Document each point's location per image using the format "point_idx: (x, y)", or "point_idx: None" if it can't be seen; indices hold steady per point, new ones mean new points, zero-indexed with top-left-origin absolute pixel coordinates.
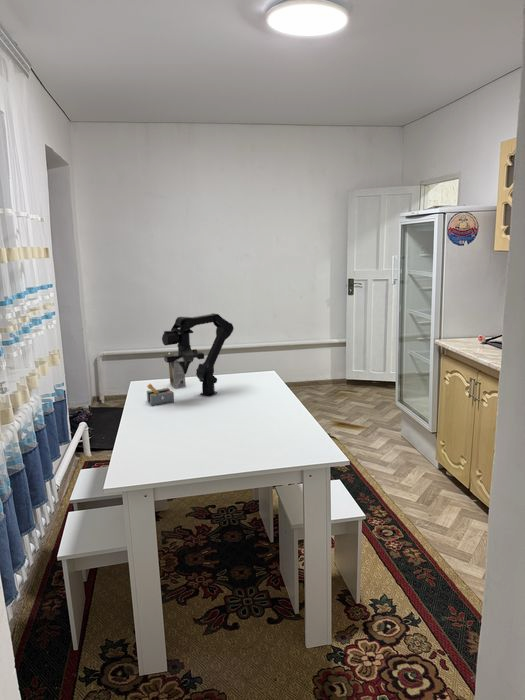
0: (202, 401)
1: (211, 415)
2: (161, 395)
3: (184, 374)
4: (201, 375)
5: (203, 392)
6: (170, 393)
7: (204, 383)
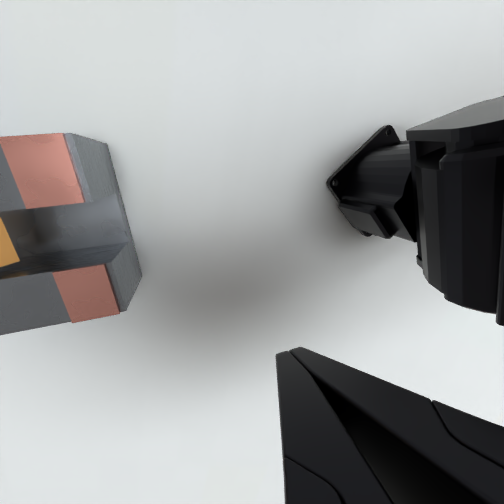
0: (299, 304)
1: (279, 465)
2: (9, 329)
3: None
4: (455, 276)
5: (348, 213)
6: (97, 314)
7: (406, 216)
